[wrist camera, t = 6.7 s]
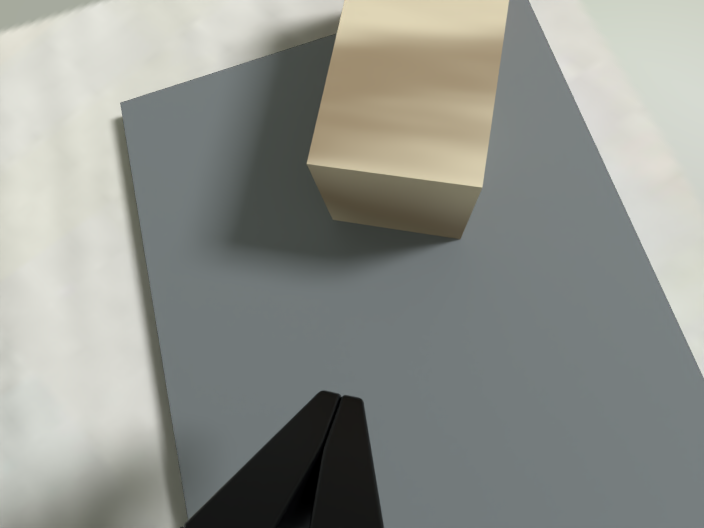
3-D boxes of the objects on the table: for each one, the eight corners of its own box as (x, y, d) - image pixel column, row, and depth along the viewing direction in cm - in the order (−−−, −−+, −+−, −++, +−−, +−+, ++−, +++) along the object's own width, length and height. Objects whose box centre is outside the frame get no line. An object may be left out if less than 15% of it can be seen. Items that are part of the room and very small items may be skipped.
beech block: (482, 187, 11) (527, -131, 13) (306, 164, 12) (376, -135, 14) (460, 239, 15) (497, -6, 18) (332, 219, 16) (382, -14, 18)
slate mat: (796, 616, 13) (821, 631, 12) (240, 756, 13) (230, 779, 13) (512, -8, 18) (517, -25, 18) (131, 113, 19) (120, 102, 18)
